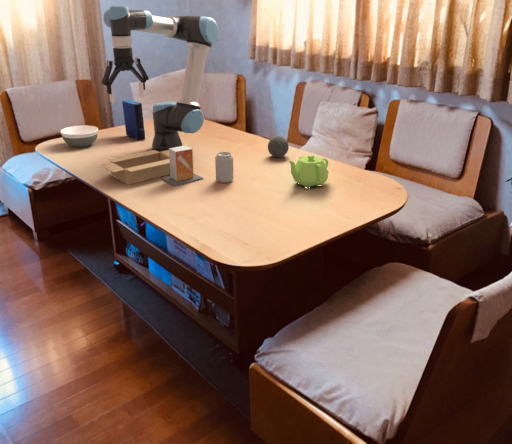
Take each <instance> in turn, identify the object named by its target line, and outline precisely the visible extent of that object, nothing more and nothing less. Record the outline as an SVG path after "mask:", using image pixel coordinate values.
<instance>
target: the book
mask: <svg viewBox="0 0 512 444" xmlns="http://www.w3.org/2000/svg"><path fill="white" fill-rule="evenodd" d="M121 103H122V110H123V117H124V126H125V135H126V136H128V137H130V138H133V139H135V140H137V141H144V140H145V139H146V130H145V124H144V114H143V112H144V111H143V106H142V105H143V104H142V102H137V101H135V100H132V99H131V100H130V99H126V100H123V101H121Z"/></svg>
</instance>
